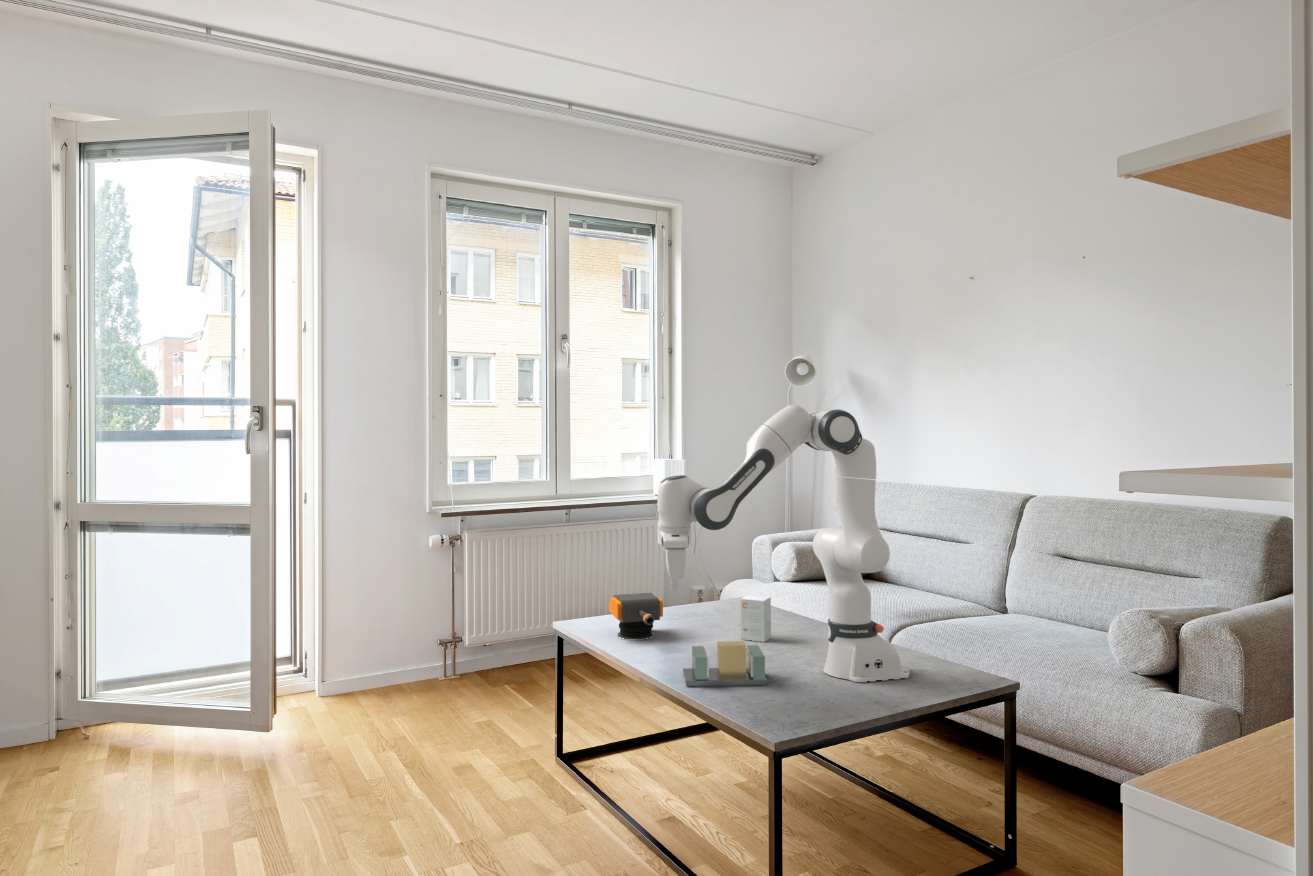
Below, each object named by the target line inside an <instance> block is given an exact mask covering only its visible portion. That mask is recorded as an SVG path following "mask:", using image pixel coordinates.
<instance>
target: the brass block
mask: <svg viewBox="0 0 1313 876" xmlns="http://www.w3.org/2000/svg"><path fill="white" fill-rule="evenodd" d="M744 641H745V640H744ZM744 641H743V640H742V641H740V640H738V641H737V640H735V641H733V640H732V641H716V642H717V643H716V644H717V648H716V649H717V652H716V653H717V654H716V655H717V658H716V659H717V668H718V674H719V677H720V676H746V648H747V645H746V644H745V642H744Z"/></svg>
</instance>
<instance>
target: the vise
mask: <svg viewBox="0 0 1313 876" xmlns="http://www.w3.org/2000/svg"><path fill="white" fill-rule="evenodd" d="M682 674H683V675H684V676H683V675H682V676H683V679H685V681H684V685H685V684H686V685H685V687H686V686H696V687H740V686H741V687H743V686H745V687H746V686H748V687H749V686H750V685H754V686H767V685H768V678H767V677H766V657H765V654H764V653H763V651H762V650H761V648H760V646H759V645H758V644H757V645H755V644H754V645H752V644H751V645H750V644H749V645H746V676H720V677H719V674H718V667H709V678H707V679H699V680H695V676H694V672H693V668H692V667H691V668H689V667H687V668H682Z"/></svg>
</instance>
